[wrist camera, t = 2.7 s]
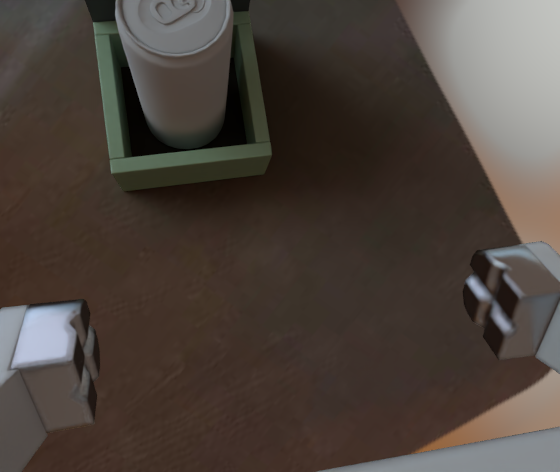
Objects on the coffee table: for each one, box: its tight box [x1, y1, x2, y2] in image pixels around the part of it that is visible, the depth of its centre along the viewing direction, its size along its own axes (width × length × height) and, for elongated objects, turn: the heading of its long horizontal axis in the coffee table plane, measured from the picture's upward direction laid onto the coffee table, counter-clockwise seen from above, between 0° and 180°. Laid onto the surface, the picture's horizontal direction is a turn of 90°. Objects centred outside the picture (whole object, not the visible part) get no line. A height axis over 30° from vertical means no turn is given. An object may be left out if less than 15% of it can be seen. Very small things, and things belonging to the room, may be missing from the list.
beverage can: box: [115, 0, 233, 149], centre depth 27 cm, size 5×5×12 cm
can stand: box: [85, 0, 272, 191], centre depth 26 cm, size 10×9×14 cm
